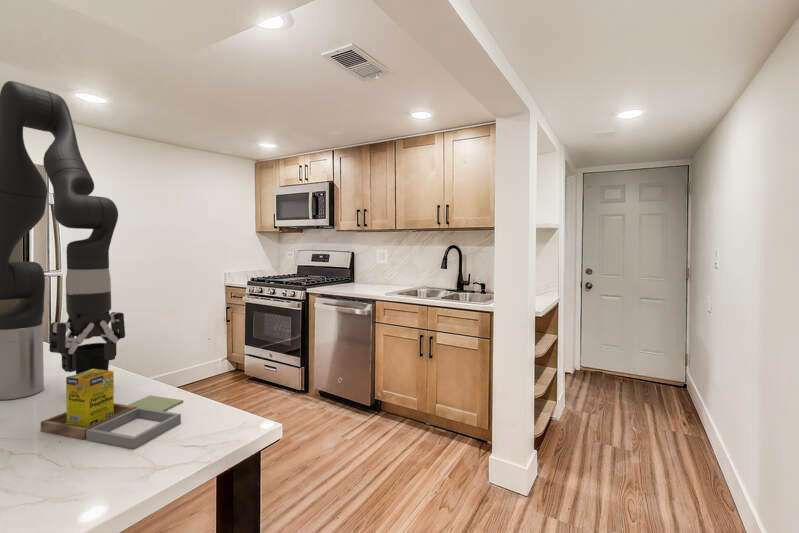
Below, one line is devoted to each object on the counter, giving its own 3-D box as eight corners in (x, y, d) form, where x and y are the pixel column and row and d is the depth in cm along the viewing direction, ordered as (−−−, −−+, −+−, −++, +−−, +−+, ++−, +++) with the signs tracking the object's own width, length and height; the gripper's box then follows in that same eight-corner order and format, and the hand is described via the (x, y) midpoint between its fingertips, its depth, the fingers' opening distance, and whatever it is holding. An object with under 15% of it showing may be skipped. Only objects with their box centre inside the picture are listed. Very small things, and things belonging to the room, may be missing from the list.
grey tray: (86, 440, 78) (86, 430, 78) (137, 415, 90) (137, 407, 90) (133, 449, 76) (133, 439, 76) (180, 422, 87) (180, 414, 87)
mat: (120, 409, 92) (120, 407, 92) (150, 397, 100) (150, 395, 100) (156, 415, 90) (156, 413, 90) (183, 402, 98) (183, 400, 98)
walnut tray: (40, 431, 81) (40, 421, 81) (96, 408, 92) (96, 400, 92) (84, 439, 78) (84, 430, 78) (136, 415, 90) (136, 406, 90)
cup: (66, 394, 100) (65, 348, 99) (99, 385, 107) (98, 341, 106) (85, 400, 97) (84, 352, 96) (117, 390, 104) (117, 345, 103)
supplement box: (89, 431, 82) (88, 379, 81) (65, 427, 83) (64, 376, 82) (115, 418, 88) (114, 370, 87) (92, 415, 89) (92, 368, 88)
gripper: (107, 286, 92) (108, 355, 92) (37, 293, 78) (40, 374, 79) (133, 287, 90) (134, 357, 91) (67, 295, 76) (69, 377, 77)
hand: (90, 365), depth 85 cm, fingers open, 8 cm apart
